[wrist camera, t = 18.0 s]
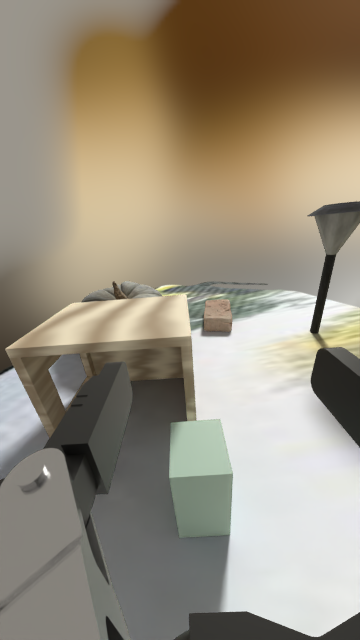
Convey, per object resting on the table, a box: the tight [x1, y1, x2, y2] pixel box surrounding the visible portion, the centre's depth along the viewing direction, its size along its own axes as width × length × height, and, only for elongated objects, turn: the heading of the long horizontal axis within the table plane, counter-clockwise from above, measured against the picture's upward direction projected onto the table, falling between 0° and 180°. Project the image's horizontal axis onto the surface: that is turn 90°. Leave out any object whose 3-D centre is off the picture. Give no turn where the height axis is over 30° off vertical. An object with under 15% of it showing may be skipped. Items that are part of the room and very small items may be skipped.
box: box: [5, 295, 196, 438], centre depth 32 cm, size 20×15×17 cm
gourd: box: [82, 281, 162, 302], centre depth 55 cm, size 25×25×17 cm
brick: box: [204, 299, 232, 332], centre depth 65 cm, size 16×8×5 cm, turn 171°
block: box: [169, 419, 233, 538], centre depth 20 cm, size 5×5×10 cm
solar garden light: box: [308, 202, 360, 333], centre depth 48 cm, size 12×12×30 cm
